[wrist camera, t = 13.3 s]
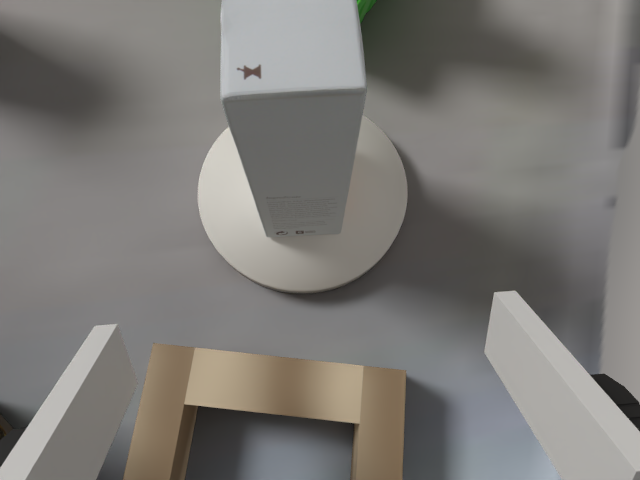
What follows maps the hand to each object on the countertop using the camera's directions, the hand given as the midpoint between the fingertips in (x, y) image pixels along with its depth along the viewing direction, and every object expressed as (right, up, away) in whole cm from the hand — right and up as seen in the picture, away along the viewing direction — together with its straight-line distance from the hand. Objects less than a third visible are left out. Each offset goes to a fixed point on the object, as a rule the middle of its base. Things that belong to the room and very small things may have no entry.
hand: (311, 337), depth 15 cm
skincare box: (-1, +6, +9) cm, 11 cm away
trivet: (-1, +6, +10) cm, 12 cm away
